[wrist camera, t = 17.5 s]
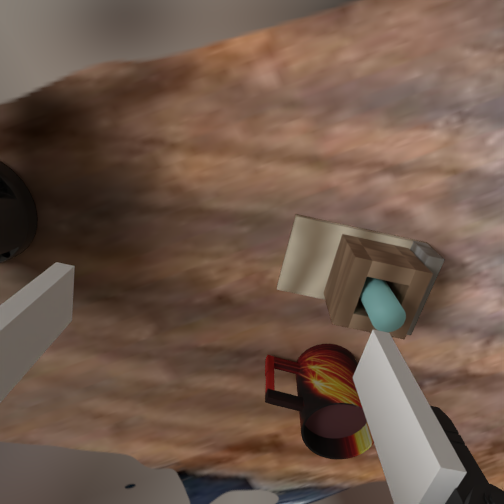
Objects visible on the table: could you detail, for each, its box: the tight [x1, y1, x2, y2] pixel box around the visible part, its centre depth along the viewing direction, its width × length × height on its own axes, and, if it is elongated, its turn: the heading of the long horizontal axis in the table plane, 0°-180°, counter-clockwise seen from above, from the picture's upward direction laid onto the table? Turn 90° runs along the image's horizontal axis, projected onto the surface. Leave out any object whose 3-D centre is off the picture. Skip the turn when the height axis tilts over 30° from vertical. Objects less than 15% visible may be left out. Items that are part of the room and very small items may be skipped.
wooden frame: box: [277, 214, 445, 335], centre depth 48 cm, size 18×11×6 cm, turn 78°
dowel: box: [360, 277, 406, 332], centre depth 45 cm, size 4×4×12 cm
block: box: [324, 234, 433, 339], centre depth 46 cm, size 9×9×8 cm
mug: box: [265, 344, 374, 459], centre depth 52 cm, size 10×14×12 cm
